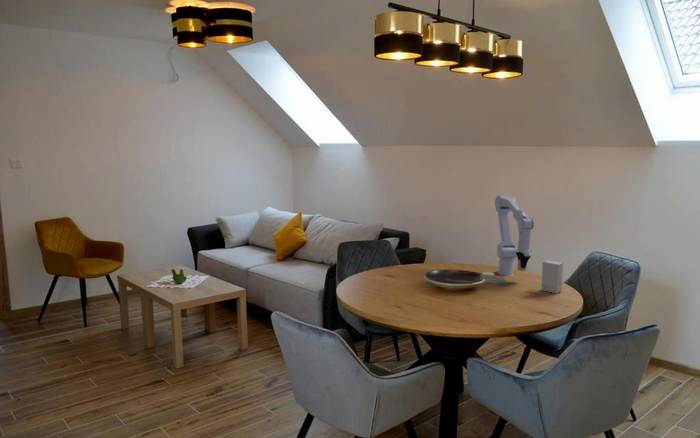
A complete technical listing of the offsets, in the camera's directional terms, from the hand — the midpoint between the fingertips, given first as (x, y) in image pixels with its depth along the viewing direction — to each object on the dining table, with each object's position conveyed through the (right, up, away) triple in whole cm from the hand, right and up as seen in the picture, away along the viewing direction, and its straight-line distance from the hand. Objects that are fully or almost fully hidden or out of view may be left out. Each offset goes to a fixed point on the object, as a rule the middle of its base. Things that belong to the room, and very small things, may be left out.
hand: (521, 266), depth 278 cm
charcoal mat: (-18, -8, 0) cm, 20 cm away
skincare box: (+10, -11, -13) cm, 20 cm away
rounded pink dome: (0, -1, 0) cm, 1 cm away
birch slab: (-18, -7, 0) cm, 19 cm away
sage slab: (-18, -5, -1) cm, 19 cm away
